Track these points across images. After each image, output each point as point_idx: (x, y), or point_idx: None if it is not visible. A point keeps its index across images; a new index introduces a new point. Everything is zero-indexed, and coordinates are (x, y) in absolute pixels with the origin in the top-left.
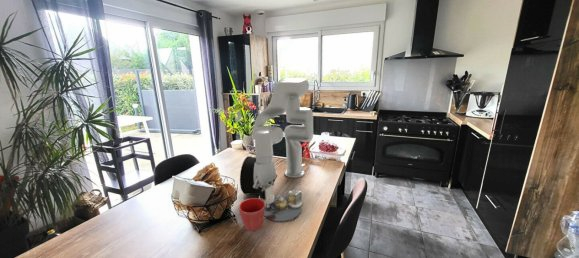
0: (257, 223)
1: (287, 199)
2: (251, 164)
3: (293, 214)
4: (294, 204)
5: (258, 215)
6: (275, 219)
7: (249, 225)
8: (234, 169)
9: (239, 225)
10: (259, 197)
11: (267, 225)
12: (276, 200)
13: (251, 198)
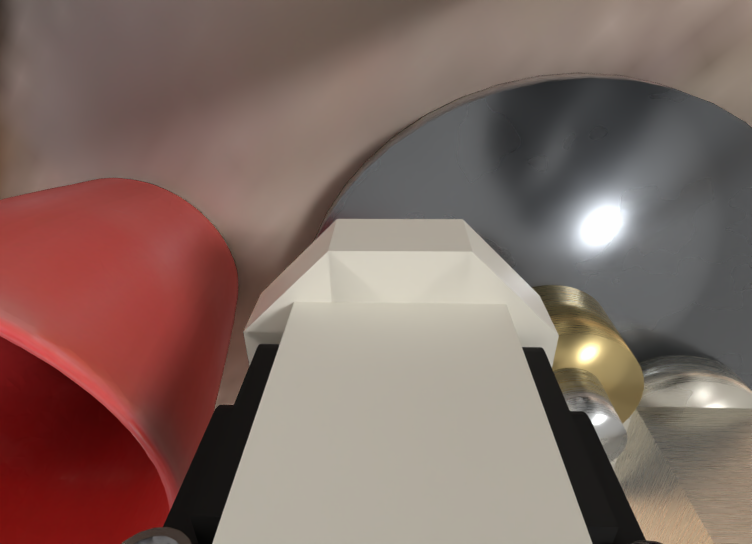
0: (94, 412)
1: (742, 297)
2: None
3: None
4: (615, 472)
5: (38, 521)
6: None
7: (20, 357)
8: None
9: (4, 158)
10: (284, 300)
11: (246, 368)
12: (657, 196)
13: (18, 340)
